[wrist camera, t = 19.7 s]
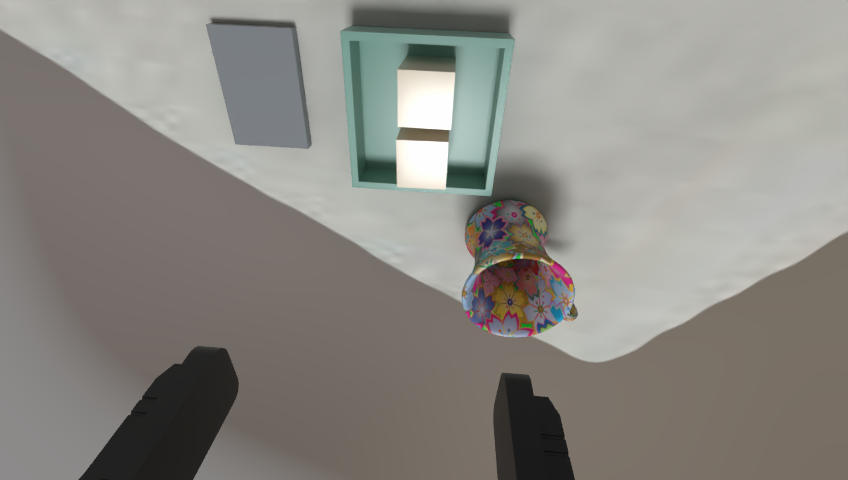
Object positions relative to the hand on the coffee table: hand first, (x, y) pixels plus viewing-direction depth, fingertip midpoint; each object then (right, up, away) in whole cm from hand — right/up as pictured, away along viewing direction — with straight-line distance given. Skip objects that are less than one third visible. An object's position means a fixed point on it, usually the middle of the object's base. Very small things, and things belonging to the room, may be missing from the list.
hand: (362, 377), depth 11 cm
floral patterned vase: (+12, +4, +30) cm, 33 cm away
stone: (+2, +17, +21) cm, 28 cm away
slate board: (-12, +18, +23) cm, 32 cm away
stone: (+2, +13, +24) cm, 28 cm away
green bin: (+2, +16, +23) cm, 28 cm away
